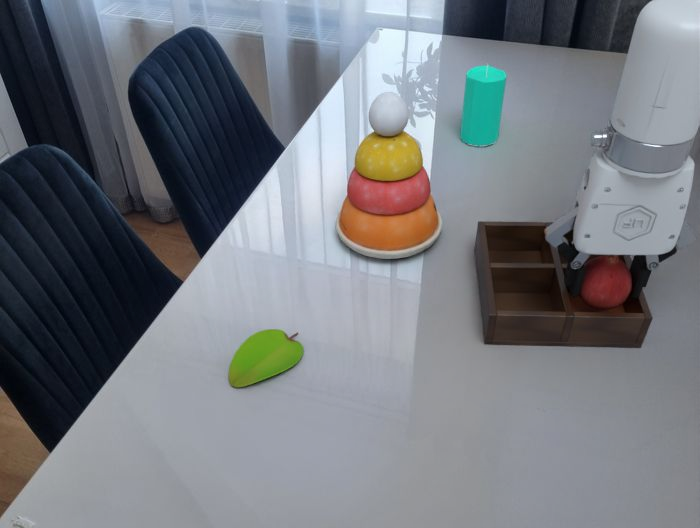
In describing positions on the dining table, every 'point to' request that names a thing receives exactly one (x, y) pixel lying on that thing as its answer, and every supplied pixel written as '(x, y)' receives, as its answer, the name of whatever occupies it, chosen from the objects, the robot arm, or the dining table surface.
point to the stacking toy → (388, 189)
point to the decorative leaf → (264, 357)
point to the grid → (544, 294)
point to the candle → (482, 105)
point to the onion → (605, 282)
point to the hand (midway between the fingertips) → (602, 288)
